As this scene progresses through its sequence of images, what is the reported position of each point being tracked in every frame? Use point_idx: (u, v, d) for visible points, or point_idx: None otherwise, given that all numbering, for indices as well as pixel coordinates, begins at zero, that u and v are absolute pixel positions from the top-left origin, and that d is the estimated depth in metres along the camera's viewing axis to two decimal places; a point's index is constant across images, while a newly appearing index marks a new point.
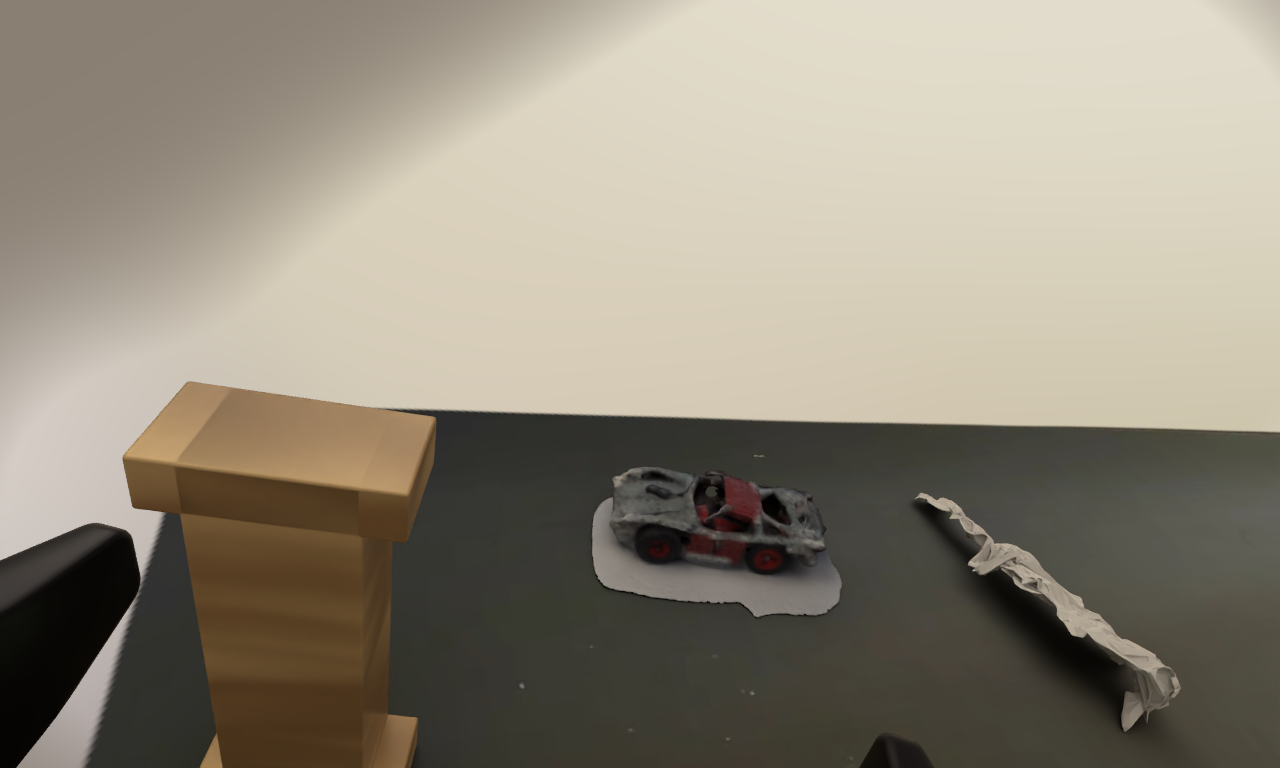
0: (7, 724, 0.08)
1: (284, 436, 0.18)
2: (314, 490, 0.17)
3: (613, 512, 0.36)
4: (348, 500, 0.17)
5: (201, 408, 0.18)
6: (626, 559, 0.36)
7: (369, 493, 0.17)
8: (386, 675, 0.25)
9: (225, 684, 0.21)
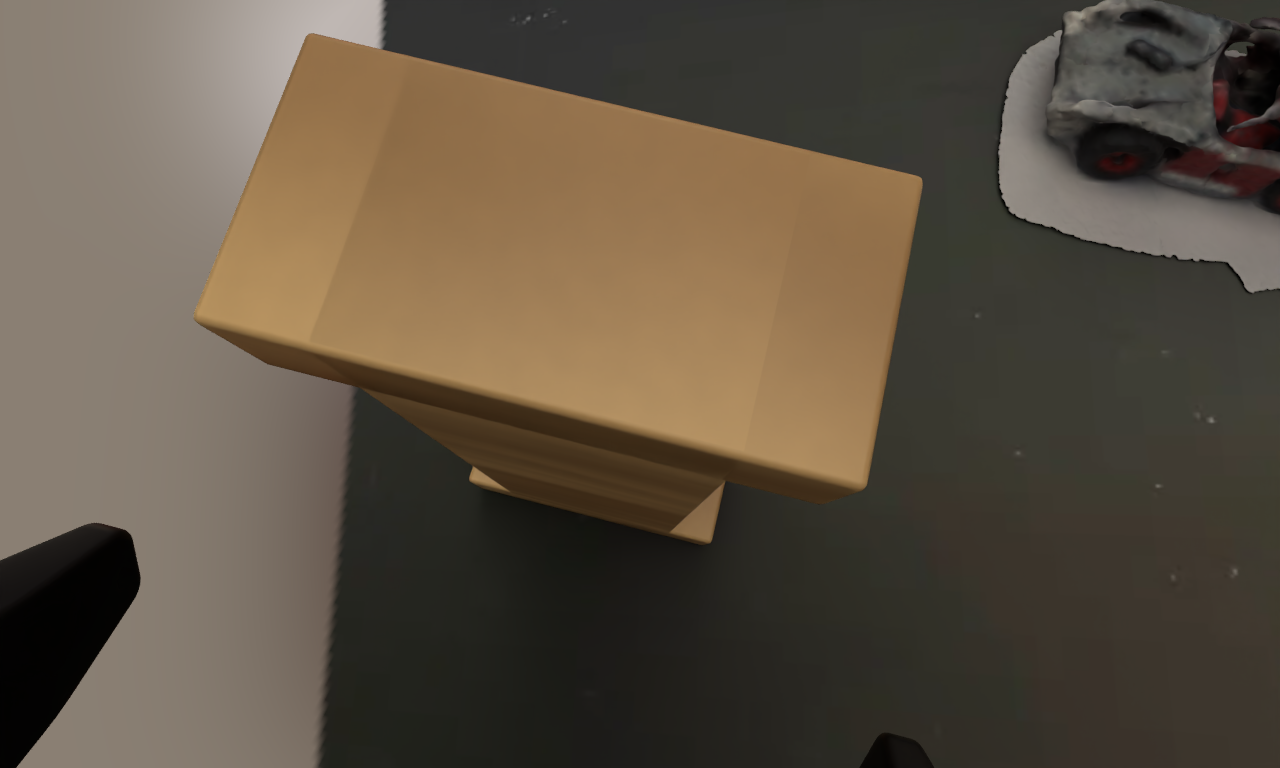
0: (7, 724, 0.08)
1: (551, 252, 0.07)
2: (633, 437, 0.07)
3: (1056, 88, 0.22)
4: (711, 459, 0.07)
5: (348, 140, 0.07)
6: (1053, 166, 0.23)
7: (766, 462, 0.07)
8: None
9: (492, 469, 0.14)
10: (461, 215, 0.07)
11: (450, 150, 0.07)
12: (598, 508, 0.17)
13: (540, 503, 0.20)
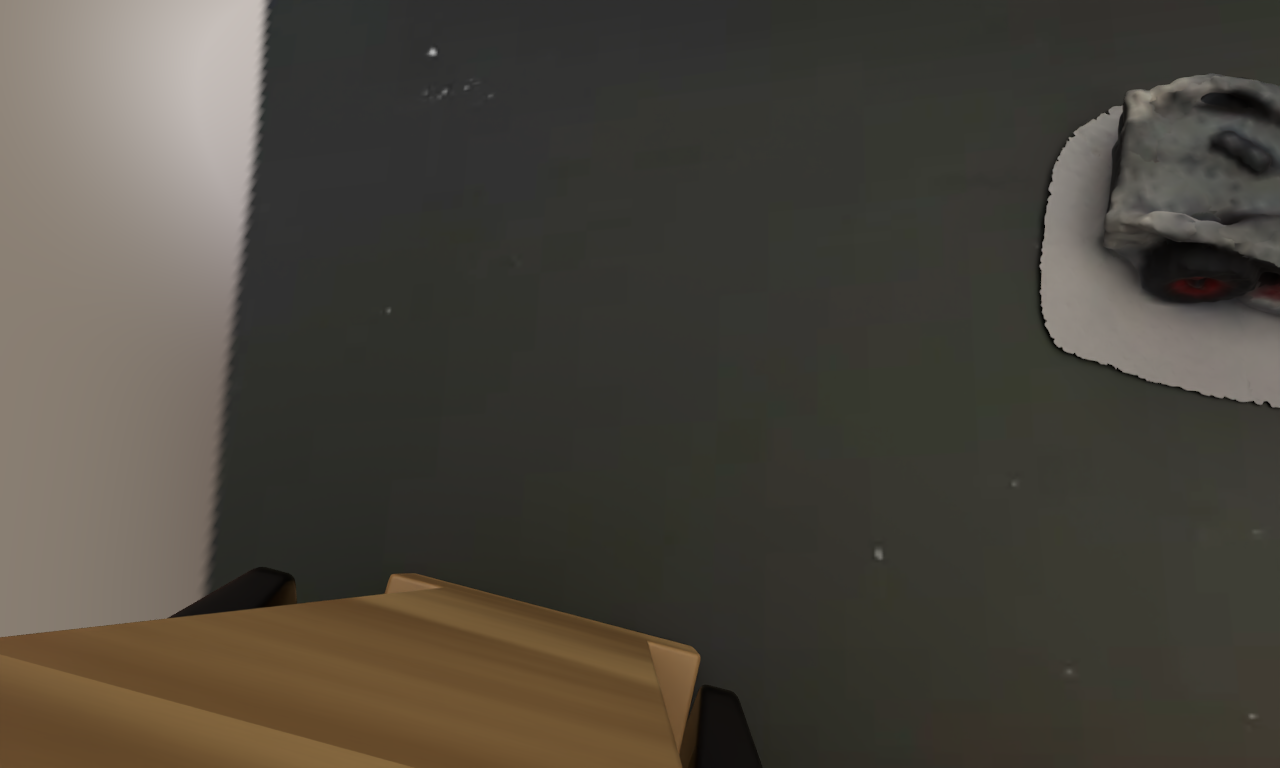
0: None
1: None
2: None
3: (1119, 192, 0.17)
4: None
5: None
6: (1109, 284, 0.18)
7: None
8: None
9: None
10: None
11: None
12: None
13: None
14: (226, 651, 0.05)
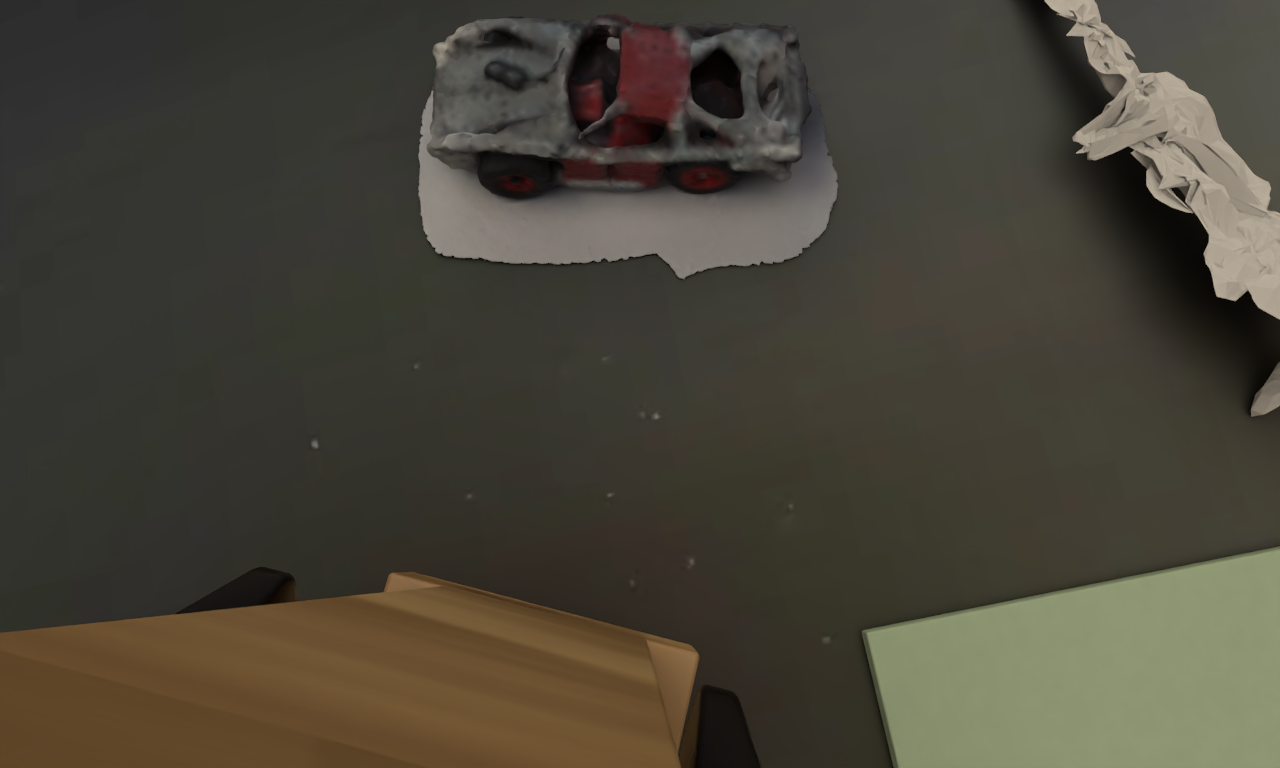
0: None
1: None
2: None
3: (432, 126, 0.21)
4: None
5: None
6: (475, 195, 0.23)
7: None
8: None
9: None
10: None
11: None
12: None
13: None
14: (224, 648, 0.05)
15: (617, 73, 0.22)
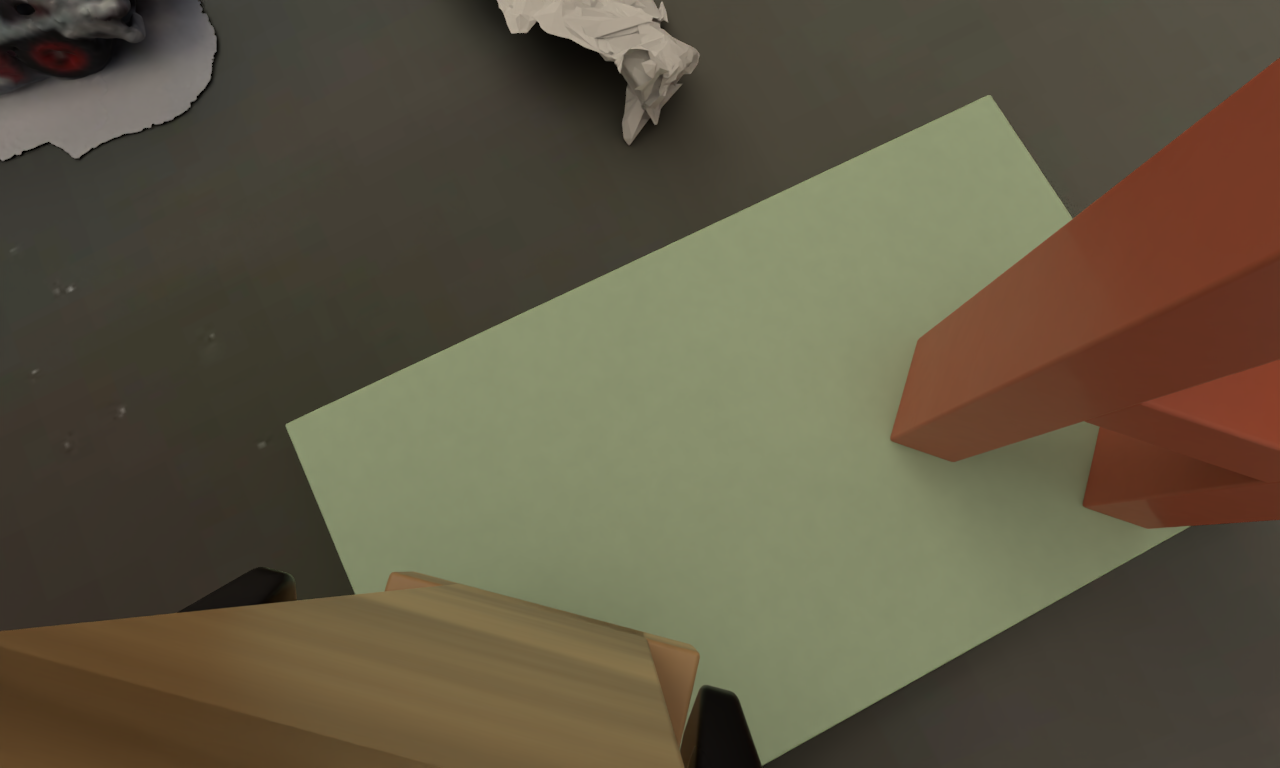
0: None
1: None
2: None
3: None
4: None
5: None
6: None
7: None
8: None
9: None
10: None
11: None
12: None
13: None
14: (227, 646, 0.05)
15: None
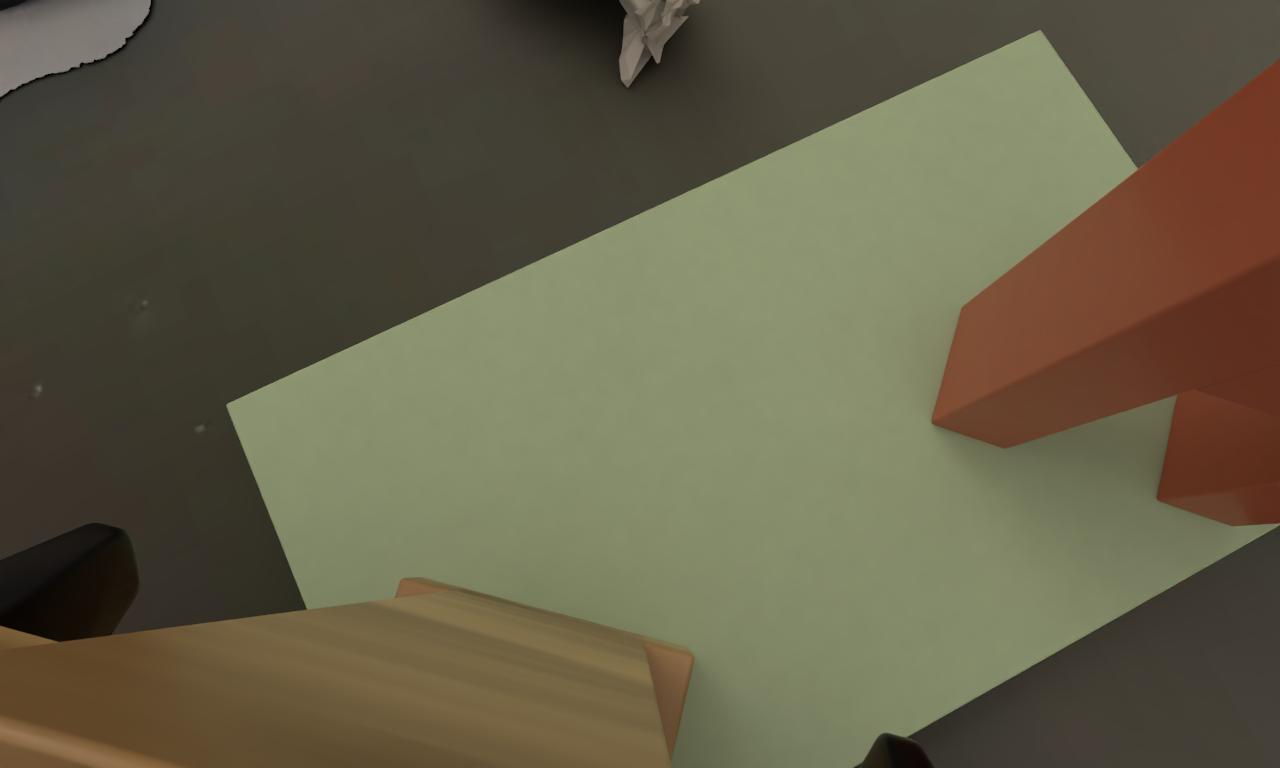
0: None
1: None
2: None
3: None
4: None
5: None
6: None
7: None
8: None
9: None
10: None
11: None
12: None
13: None
14: (272, 650, 0.06)
15: None
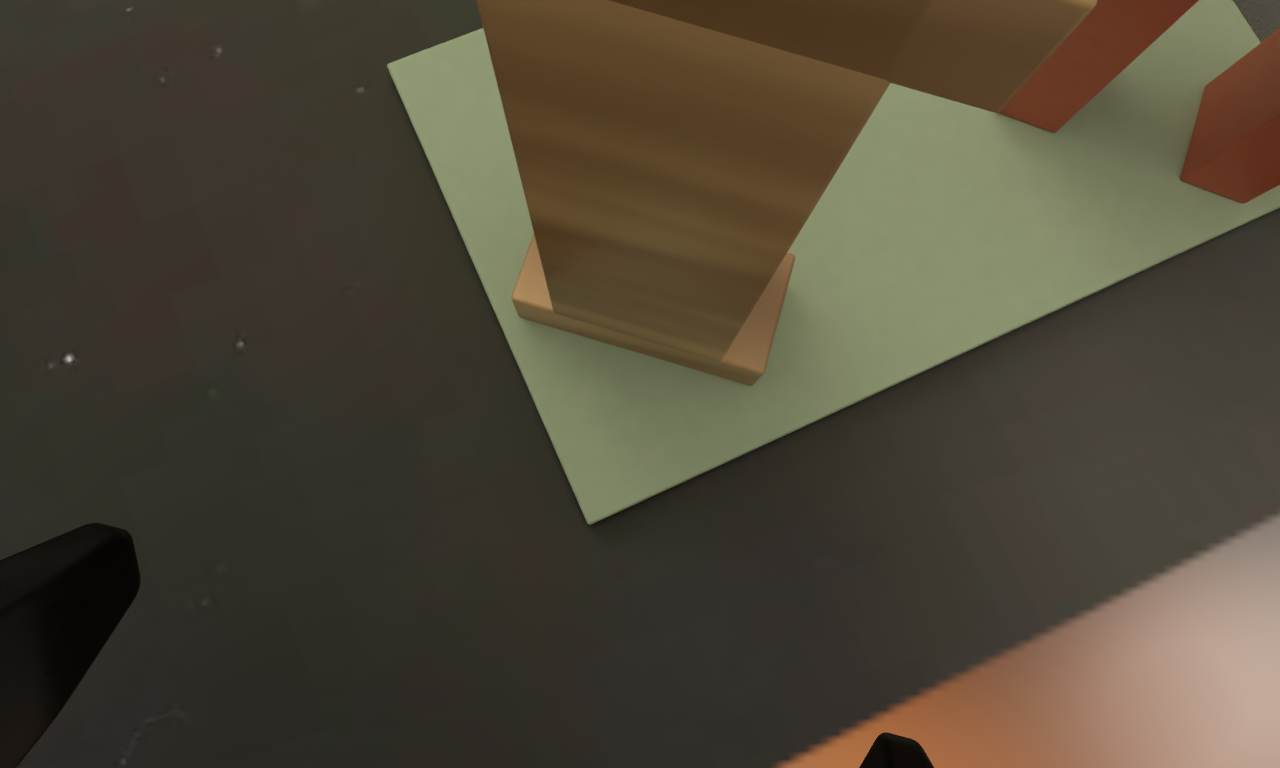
0: (7, 724, 0.08)
1: None
2: None
3: None
4: None
5: None
6: None
7: None
8: None
9: (557, 231, 0.13)
10: None
11: None
12: (655, 312, 0.16)
13: (582, 335, 0.19)
14: None
15: None
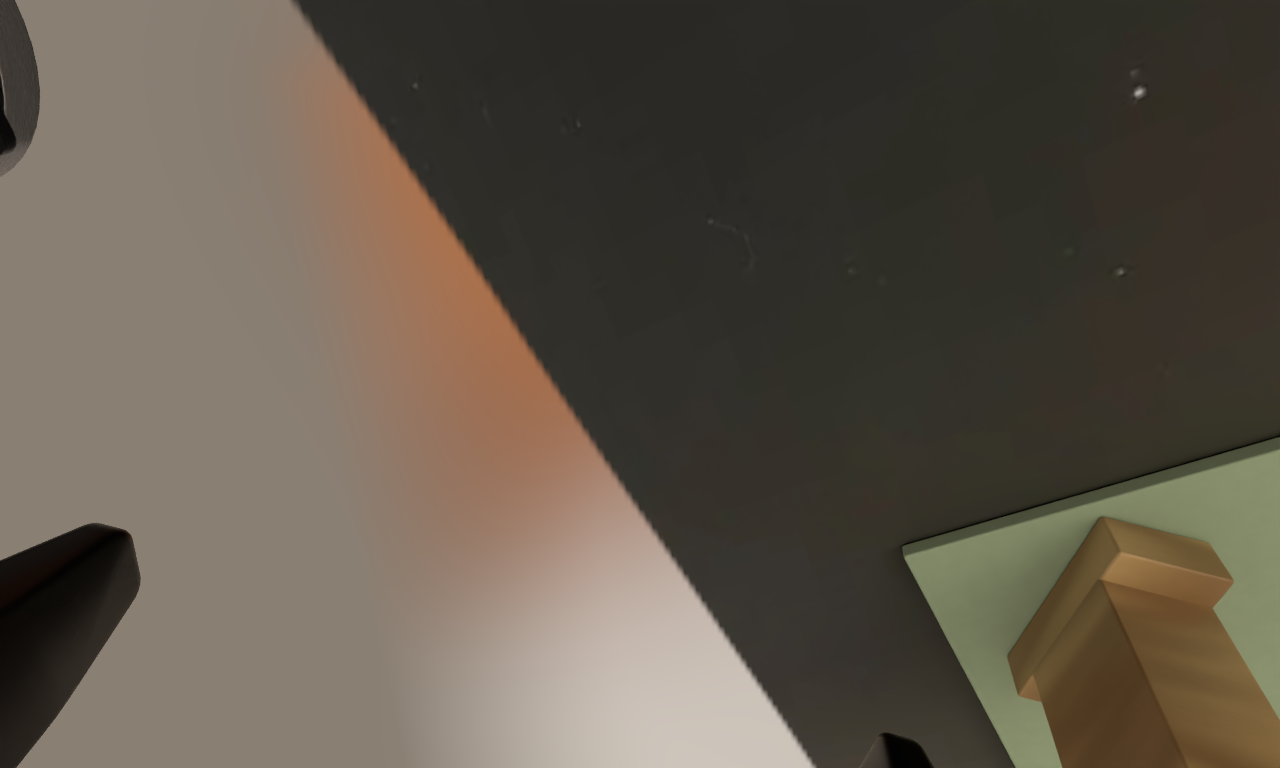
0: (7, 724, 0.08)
1: None
2: None
3: None
4: None
5: None
6: None
7: None
8: None
9: (1167, 765, 0.17)
10: None
11: None
12: (1084, 706, 0.20)
13: (1072, 560, 0.22)
14: None
15: None
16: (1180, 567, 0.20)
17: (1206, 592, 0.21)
